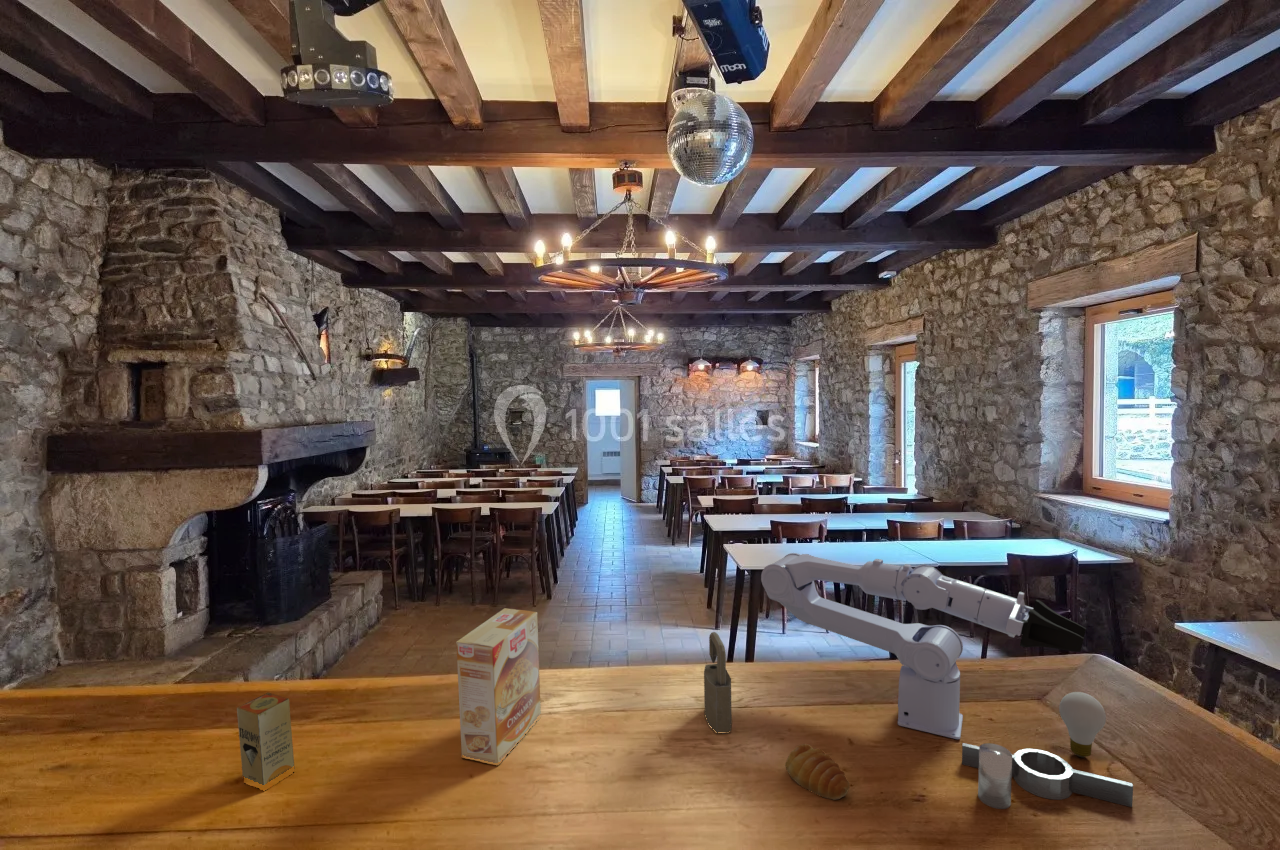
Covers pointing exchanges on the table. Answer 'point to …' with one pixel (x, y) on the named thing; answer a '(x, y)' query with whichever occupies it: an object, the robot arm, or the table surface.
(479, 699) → the coffeecake box
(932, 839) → the table surface
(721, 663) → the padlock
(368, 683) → the table surface
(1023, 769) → the hinge
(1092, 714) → the light bulb
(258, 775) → the shoe polish box
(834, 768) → the pastry
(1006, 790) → the hinge pin
